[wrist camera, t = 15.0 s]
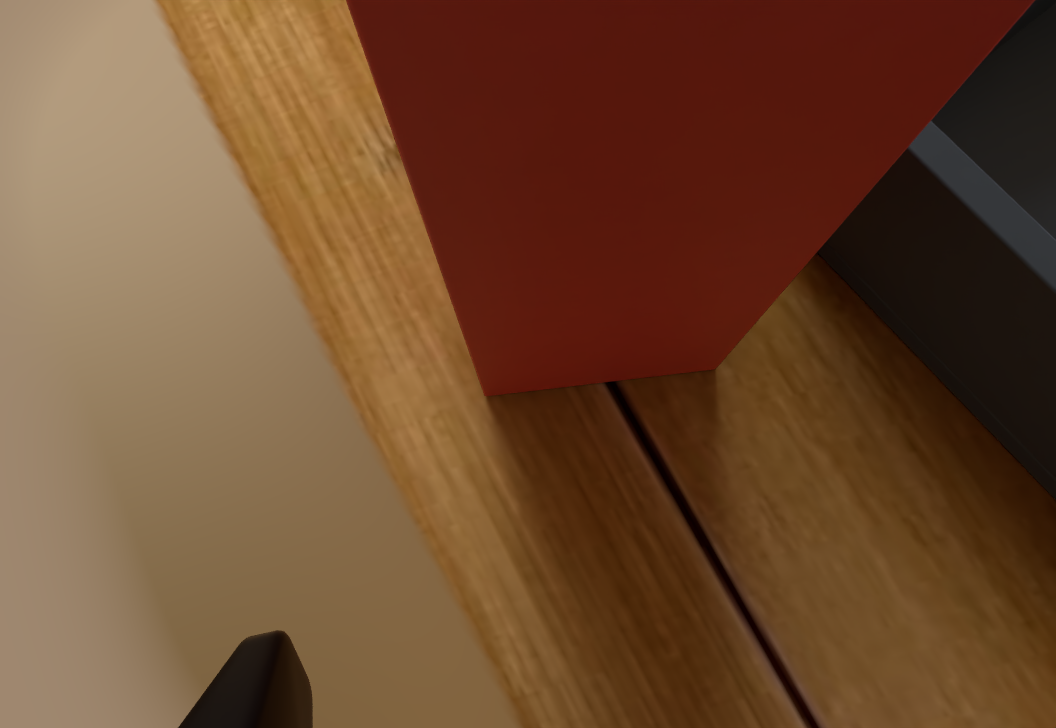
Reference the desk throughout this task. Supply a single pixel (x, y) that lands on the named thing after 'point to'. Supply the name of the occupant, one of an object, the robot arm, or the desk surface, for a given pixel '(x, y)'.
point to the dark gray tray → (976, 243)
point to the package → (648, 159)
